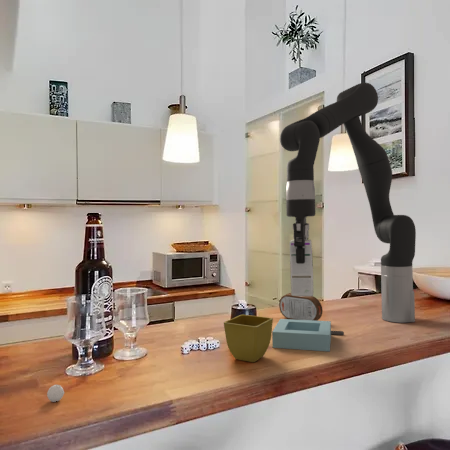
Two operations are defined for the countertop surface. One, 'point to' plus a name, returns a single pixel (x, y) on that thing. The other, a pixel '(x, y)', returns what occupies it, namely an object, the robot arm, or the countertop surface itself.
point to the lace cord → (337, 332)
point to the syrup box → (301, 271)
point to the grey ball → (55, 393)
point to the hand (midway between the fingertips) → (301, 261)
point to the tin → (300, 307)
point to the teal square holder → (302, 335)
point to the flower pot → (248, 336)
